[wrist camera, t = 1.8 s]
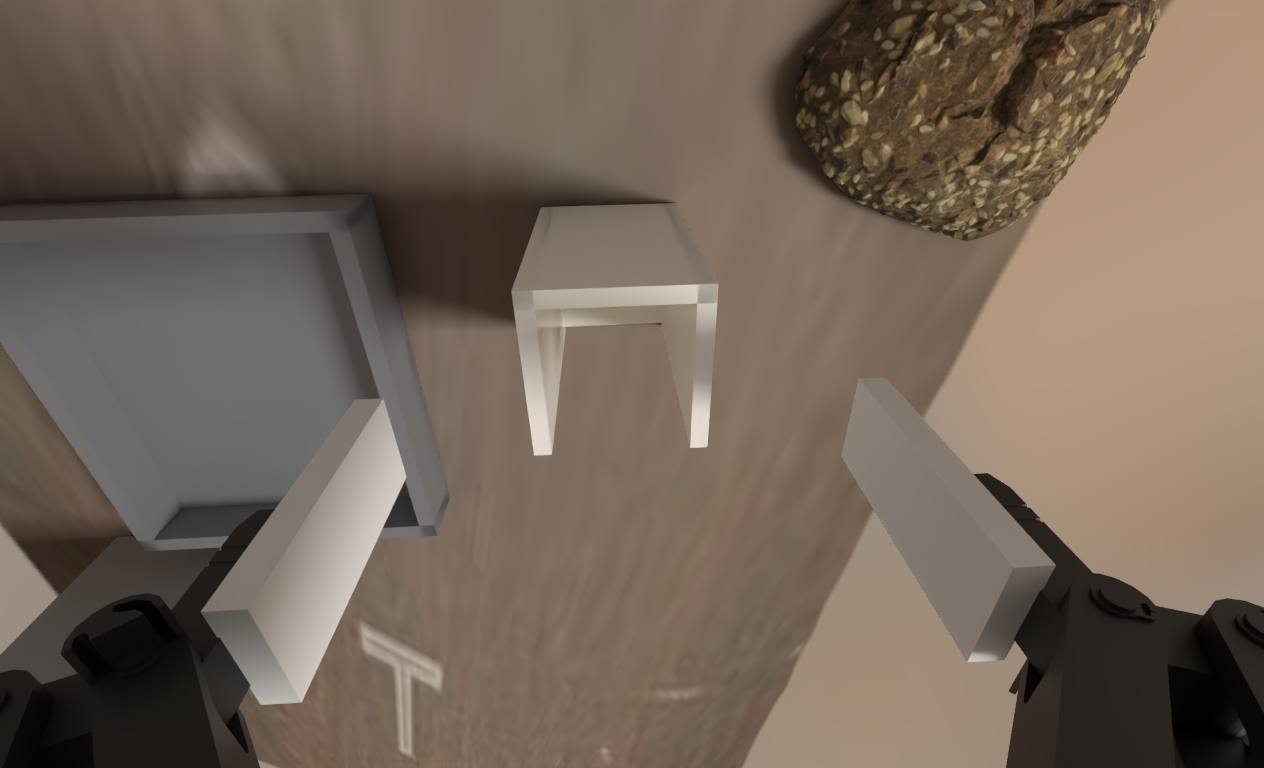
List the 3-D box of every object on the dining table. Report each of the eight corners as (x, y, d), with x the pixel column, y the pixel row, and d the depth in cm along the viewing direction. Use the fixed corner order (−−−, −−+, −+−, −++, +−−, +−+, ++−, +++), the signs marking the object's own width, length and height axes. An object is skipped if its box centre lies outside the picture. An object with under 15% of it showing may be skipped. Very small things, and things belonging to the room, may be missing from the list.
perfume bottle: (233, 531, 33) (-81, 946, 18) (271, 603, 37) (36, 1001, 21) (117, 536, 33) (-305, 963, 17) (167, 608, 36) (-148, 1015, 21)
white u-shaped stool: (541, 207, 24) (511, 291, 16) (675, 203, 24) (718, 283, 16) (553, 329, 27) (534, 455, 19) (672, 324, 28) (707, 447, 19)
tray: (-7, 204, 23) (-83, 223, 20) (371, 193, 23) (343, 210, 21) (181, 511, 32) (145, 551, 29) (449, 497, 33) (437, 535, 30)
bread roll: (953, 265, 27) (1020, 304, 23) (752, 135, 23) (786, 153, 19) (1192, -13, 22) (1338, -29, 17) (976, -238, 18) (1095, -329, 14)
